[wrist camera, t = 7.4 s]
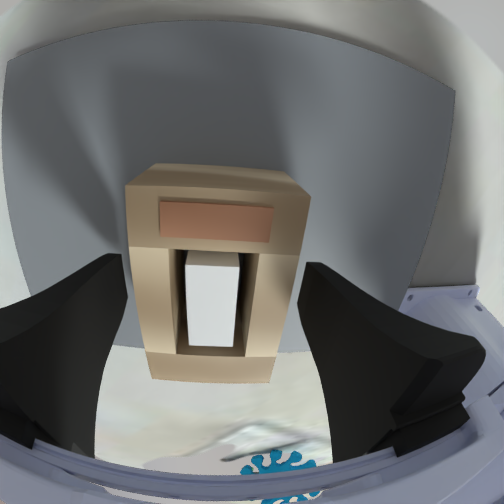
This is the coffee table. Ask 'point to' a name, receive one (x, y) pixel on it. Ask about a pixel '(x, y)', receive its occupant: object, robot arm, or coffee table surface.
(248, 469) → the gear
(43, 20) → the coffee table surface
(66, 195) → the board
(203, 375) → the open rectangular tan frame
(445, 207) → the coffee table surface
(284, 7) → the coffee table surface
